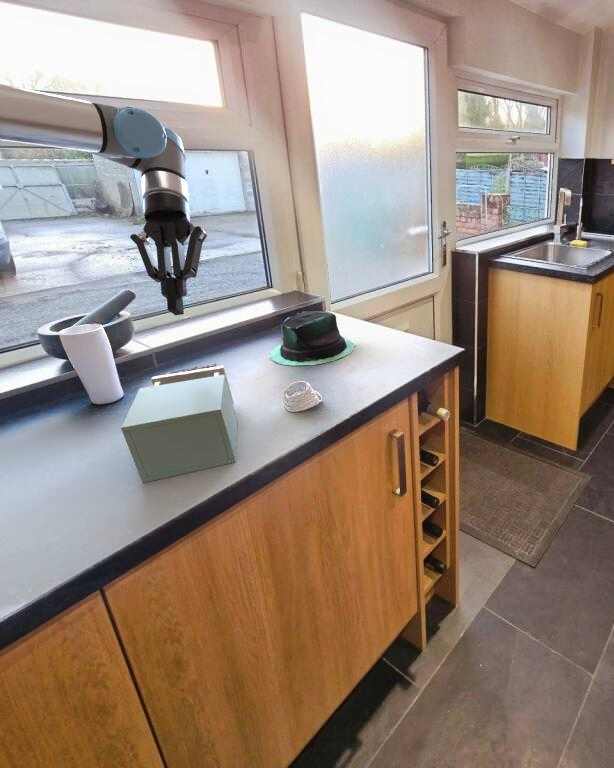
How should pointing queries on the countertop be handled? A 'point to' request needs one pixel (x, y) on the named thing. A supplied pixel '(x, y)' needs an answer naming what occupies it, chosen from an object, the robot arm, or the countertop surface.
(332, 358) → the dark green hat
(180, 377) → the drawer
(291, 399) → the white ribbed cup
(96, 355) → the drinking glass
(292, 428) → the countertop surface
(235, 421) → the cabinet
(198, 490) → the countertop surface
